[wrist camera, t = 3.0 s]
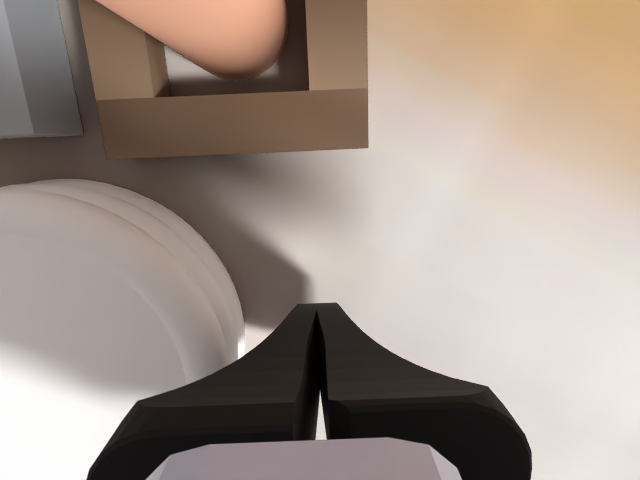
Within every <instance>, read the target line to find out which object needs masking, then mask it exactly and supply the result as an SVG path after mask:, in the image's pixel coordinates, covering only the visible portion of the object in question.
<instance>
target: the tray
mask: <svg viewBox="0 0 640 480" xmlns="http://www.w3.org/2000/svg"><path fill="white" fill-rule="evenodd" d="M75 135H83V129H82V124H81V119H80V114H79V109H78V104H77V99H76V94H75V89H74V84H73V79H72V74H71V69H70V64H69V59H68V54H67V49H66V44H65V39H64V34H63V29H62V23H61V18H60V13H59V8H58V3H57V0H0V139H8V138H31V137H53V136H75Z"/></svg>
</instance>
